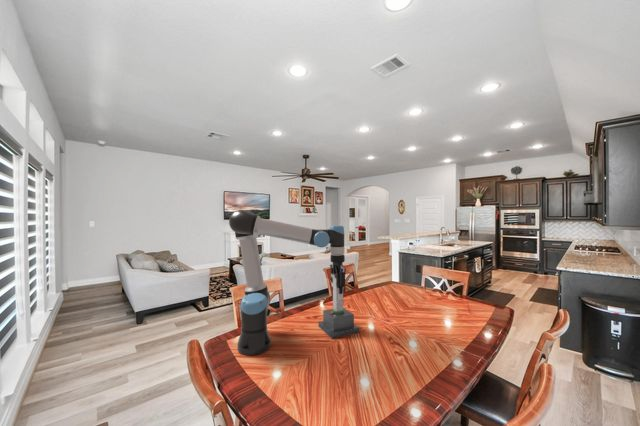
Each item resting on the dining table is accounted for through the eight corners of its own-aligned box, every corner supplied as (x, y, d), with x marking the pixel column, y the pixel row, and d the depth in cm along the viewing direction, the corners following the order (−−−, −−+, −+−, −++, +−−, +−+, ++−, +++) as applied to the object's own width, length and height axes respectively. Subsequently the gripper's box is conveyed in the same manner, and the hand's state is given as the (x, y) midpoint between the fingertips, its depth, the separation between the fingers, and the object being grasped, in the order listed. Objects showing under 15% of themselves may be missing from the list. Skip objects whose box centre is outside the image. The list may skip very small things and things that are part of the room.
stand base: (331, 338, 131) (331, 318, 131) (318, 326, 145) (318, 308, 145) (359, 332, 137) (359, 313, 137) (344, 321, 152) (343, 304, 152)
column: (335, 320, 138) (334, 275, 138) (331, 317, 142) (330, 273, 142) (345, 318, 141) (344, 274, 141) (341, 315, 144) (340, 272, 145)
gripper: (351, 256, 135) (352, 301, 135) (336, 251, 151) (336, 293, 151) (338, 257, 132) (339, 304, 132) (324, 252, 148) (324, 294, 148)
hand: (337, 298), depth 141 cm, fingers closed on column, 4 cm apart
